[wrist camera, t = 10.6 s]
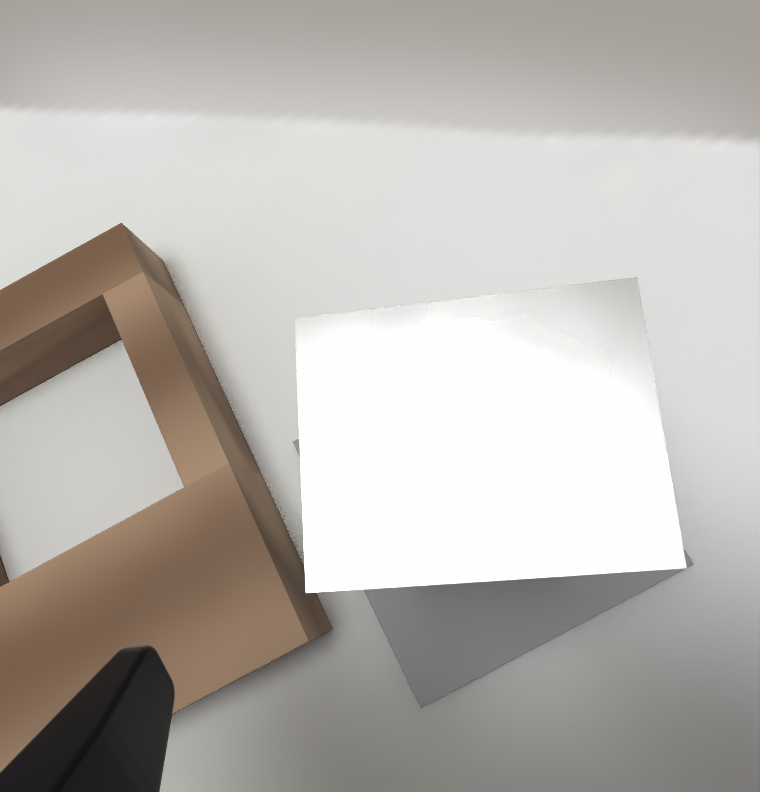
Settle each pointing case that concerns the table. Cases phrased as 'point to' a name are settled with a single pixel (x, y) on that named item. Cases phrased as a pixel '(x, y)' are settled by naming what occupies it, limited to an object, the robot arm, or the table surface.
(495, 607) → the rubber mat
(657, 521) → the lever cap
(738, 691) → the table surface
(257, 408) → the table surface
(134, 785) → the robot arm
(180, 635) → the brown wooden rectangular frame
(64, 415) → the table surface
